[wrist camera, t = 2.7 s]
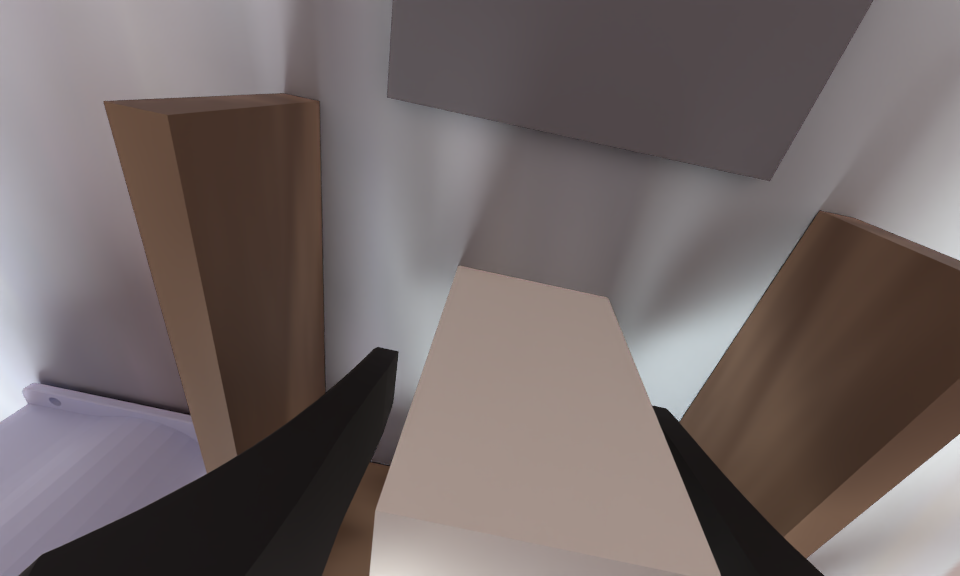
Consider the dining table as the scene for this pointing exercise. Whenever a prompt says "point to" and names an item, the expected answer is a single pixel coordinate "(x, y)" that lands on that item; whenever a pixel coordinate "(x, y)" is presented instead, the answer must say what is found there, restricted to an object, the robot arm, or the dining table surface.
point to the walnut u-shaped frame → (709, 420)
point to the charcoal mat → (629, 70)
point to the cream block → (533, 448)
